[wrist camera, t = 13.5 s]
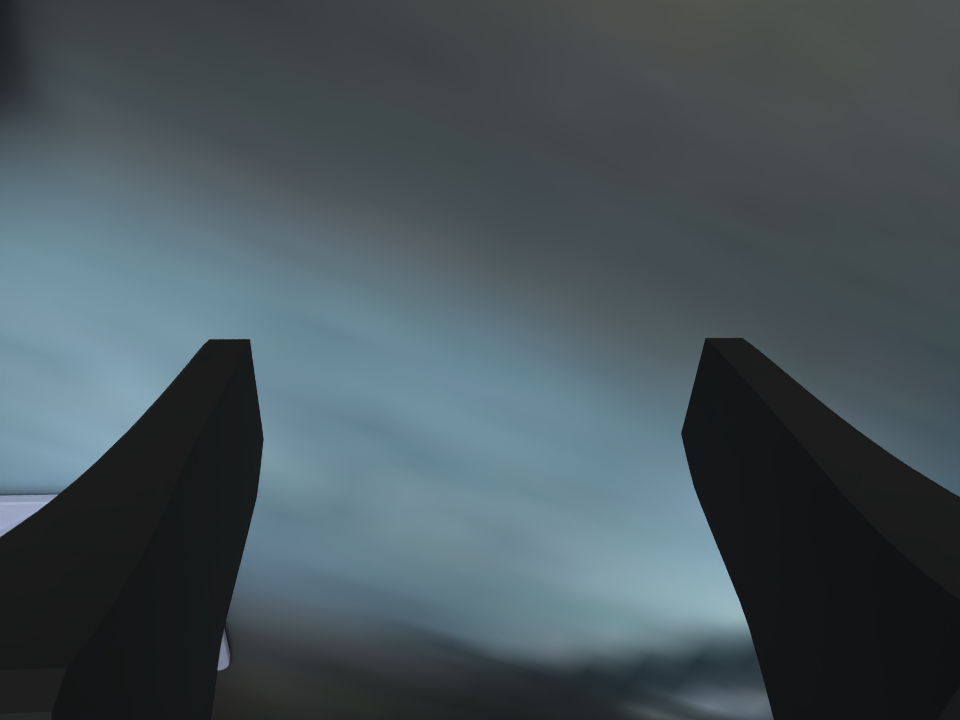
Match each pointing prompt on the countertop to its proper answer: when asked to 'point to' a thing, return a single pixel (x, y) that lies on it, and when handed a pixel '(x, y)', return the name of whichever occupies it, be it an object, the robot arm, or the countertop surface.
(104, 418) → the countertop surface
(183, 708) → the robot arm
